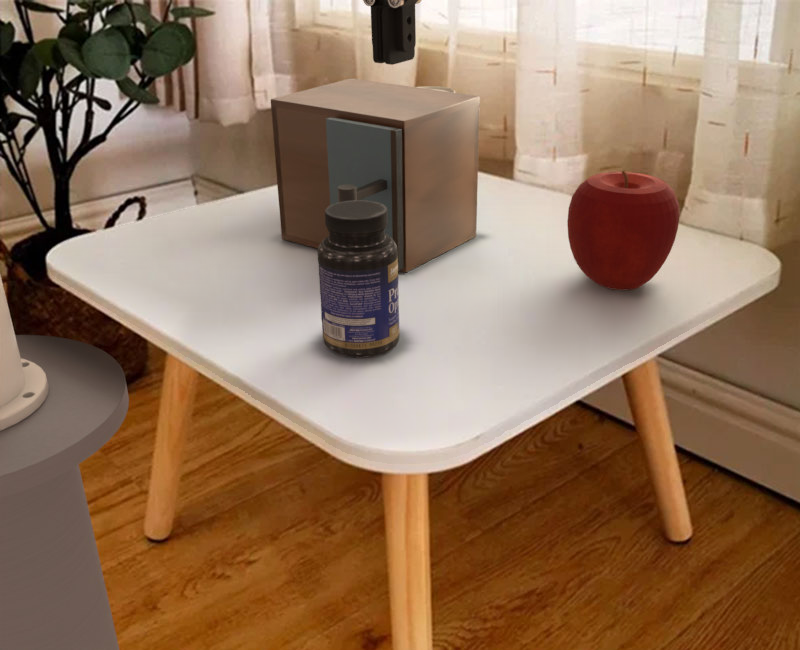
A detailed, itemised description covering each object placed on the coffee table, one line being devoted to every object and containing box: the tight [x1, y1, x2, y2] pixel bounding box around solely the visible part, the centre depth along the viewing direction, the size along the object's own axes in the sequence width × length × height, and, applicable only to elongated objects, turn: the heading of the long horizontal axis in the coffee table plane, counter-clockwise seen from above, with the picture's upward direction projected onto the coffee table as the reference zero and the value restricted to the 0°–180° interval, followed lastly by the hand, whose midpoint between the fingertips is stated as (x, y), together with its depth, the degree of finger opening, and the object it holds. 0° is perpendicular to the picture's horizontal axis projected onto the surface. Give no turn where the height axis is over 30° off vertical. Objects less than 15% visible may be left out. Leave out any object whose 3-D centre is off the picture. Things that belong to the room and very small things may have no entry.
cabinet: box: [270, 77, 481, 273], centre depth 93 cm, size 12×16×14 cm
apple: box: [567, 170, 681, 291], centre depth 83 cm, size 10×10×10 cm
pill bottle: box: [317, 200, 400, 358], centre depth 73 cm, size 6×6×11 cm
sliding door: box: [326, 117, 403, 271], centre depth 84 cm, size 7×8×13 cm
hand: (394, 60), depth 72 cm, fingers closed
